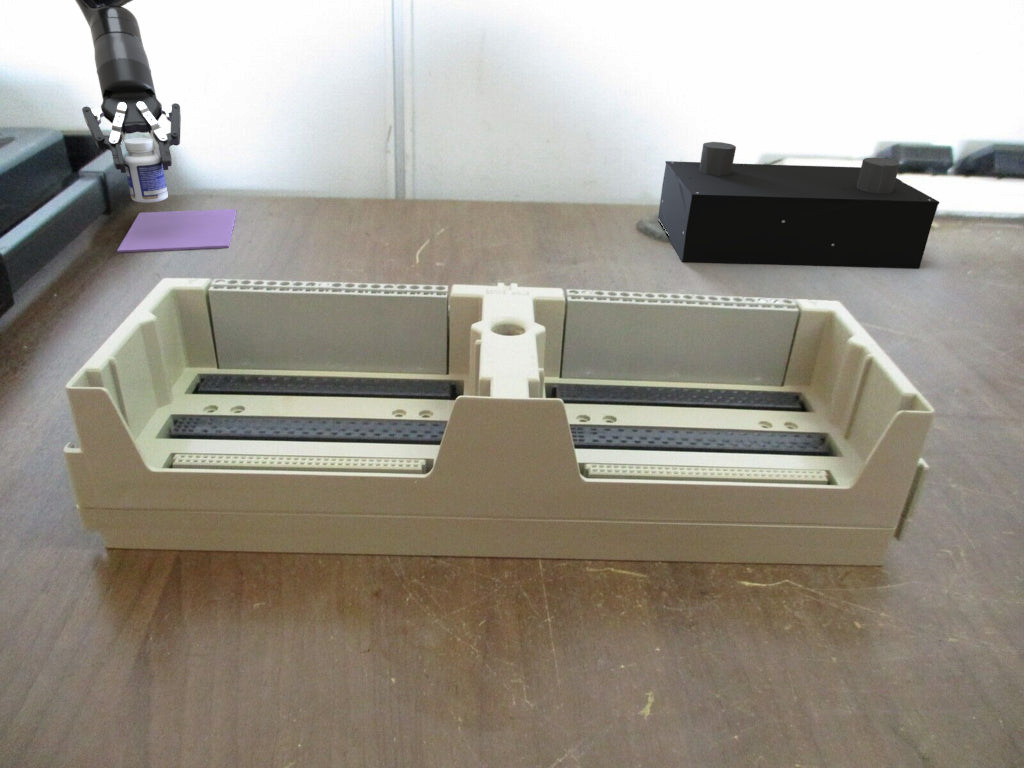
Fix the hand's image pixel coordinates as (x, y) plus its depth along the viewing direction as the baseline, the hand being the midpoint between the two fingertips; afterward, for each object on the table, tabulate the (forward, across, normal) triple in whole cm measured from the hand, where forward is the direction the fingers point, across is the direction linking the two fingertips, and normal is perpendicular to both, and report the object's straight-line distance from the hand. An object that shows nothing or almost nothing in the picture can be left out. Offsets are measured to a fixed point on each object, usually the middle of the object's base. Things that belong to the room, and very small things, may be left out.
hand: (144, 168), depth 115 cm
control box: (+33, +96, -17) cm, 102 cm away
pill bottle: (+2, 0, +6) cm, 6 cm away
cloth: (+5, +4, +12) cm, 13 cm away
